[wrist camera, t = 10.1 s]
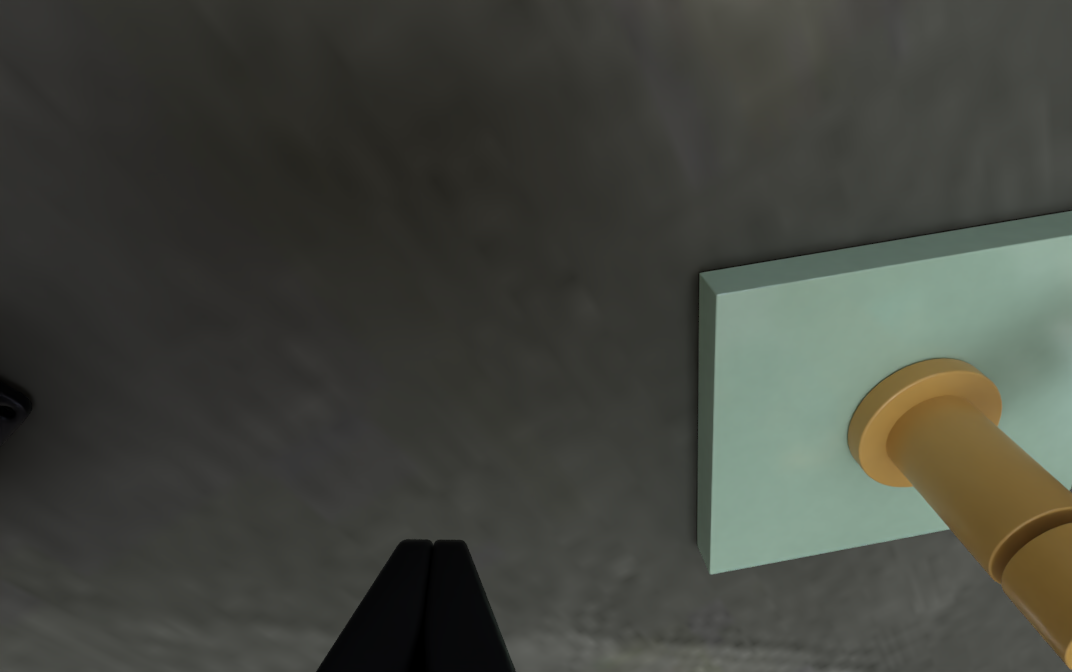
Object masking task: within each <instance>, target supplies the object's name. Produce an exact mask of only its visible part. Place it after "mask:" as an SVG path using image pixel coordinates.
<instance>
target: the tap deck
mask: <svg viewBox="0 0 1072 672" xmlns="http://www.w3.org/2000/svg"><path fill="white" fill-rule="evenodd" d="M940 358H947V359H956V360H961V361H964V362H966V363H969V364H971V365H972V366H974V367H975V368H976V369H978V370H979V371H980V372H981V373H983V374H984V375H985V376H986V377H987V378H989V379H990V380H991V381H992V382H993V383H994V384H995V385H996V387H997V388H998V391H999V393H1000V395H1001V399H1002V414H1001V418H1000V422H999V424H998V428H999V429H1001V430H1002V431H1003V432H1004V433H1005V434H1006V435H1007V436H1008V437H1010V438H1011V439H1012V440H1013V441H1014V442H1015V443H1016V444H1017V445H1019V446H1020V447H1021V448H1022V449H1023V450H1024V451H1025V452H1026V453H1027V454H1029V455H1030V456H1031V457H1032V458H1033V459H1034V460H1035V461H1036V462H1038V463H1039V464H1040V465H1041V466H1042V467H1043V468H1044V469H1045V470H1047V471H1048V472H1049V473H1050V474H1051V475H1052V476H1053V477H1054V478H1055V479H1057V480H1058V481H1059V482H1060V483H1061V484H1062V485H1063V486H1064V487H1066V488H1067V489H1068V490H1069V491H1070V489H1071V487H1072V211H1067V212H1061V213H1055V214H1049V215H1043V216H1037V217H1031V218H1025V219H1019V220H1013V221H1008V222H1002V223H996V224H990V225H984V226H978V227H972V228H966V229H960V230H954V231H948V232H942V233H936V234H930V235H924V236H918V237H912V238H906V239H900V240H894V241H888V242H882V243H876V244H870V245H864V246H858V247H852V248H846V249H840V250H834V251H828V252H822V253H816V254H810V255H804V256H798V257H792V258H786V259H780V260H774V261H768V262H762V263H756V264H750V265H744V266H738V267H732V268H726V269H720V270H714V271H708V272H702V273H700V274H699V384H698V501H697V546H698V548H699V550H700V553H701V555H702V557H703V560H704V562H705V564H706V567H707V569H708V571H709V574H710V575H712V574H717V573H722V572H727V571H733V570H738V569H743V568H749V567H754V566H759V565H764V564H770V563H775V562H780V561H785V560H791V559H796V558H801V557H807V556H812V555H817V554H822V553H828V552H833V551H838V550H843V549H849V548H854V547H859V546H865V545H870V544H875V543H880V542H886V541H891V540H896V539H901V538H907V537H912V536H917V535H923V534H928V533H933V532H938V531H944V530H949V529H950V528H949V527H948V526H947V525H946V524H945V523H944V521H943V520H942V519H941V518H940V517H939V516H938V514H937V513H936V512H935V511H934V510H933V509H932V507H931V506H930V505H929V504H928V503H927V502H926V500H925V499H924V498H923V497H922V496H921V495H920V493H919V492H918V491H917V490H916V489H915V488H914V487H892V486H887V485H883V484H881V483H879V482H876V481H875V480H873V479H872V478H870V477H869V476H868V475H867V474H866V473H865V472H864V471H863V469H862V468H861V467H860V465H859V464H858V463H857V462H856V460H855V459H854V458H853V456H852V454H851V452H850V449H849V445H848V430H849V425H850V422H851V419H852V417H853V415H854V413H855V411H856V409H857V407H858V406H859V404H860V403H861V402H862V400H863V399H864V398H865V397H866V395H867V394H868V393H869V392H870V391H871V390H872V389H873V388H874V387H875V386H877V385H878V384H879V383H880V382H882V381H883V380H884V379H885V378H887V377H889V376H890V375H892V374H893V373H895V372H897V371H899V370H901V369H903V368H905V367H907V366H910V365H912V364H915V363H918V362H921V361H925V360H931V359H940Z"/></svg>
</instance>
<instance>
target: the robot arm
mask: <svg viewBox="0 0 1072 672" xmlns="http://www.w3.org/2000/svg"><path fill="white" fill-rule="evenodd" d="M4 405H6V406H8V407H11V408H12V409H13V410H14V411H11V410H8V409H6V408H5V407H4ZM31 411H32V403H31V402H30V400H29V399H28V398H27V397H26V396H24V395H23V394H22V393H20V392H18V391H16V390H14V389H13V388H11V387H9V386H7V385H5V384H4V383H2V382H0V446H1V445H2V444H3V443H4V442H5V441H6V440H7V439H8V438H9V437H10V436H11V435H12V433H13V432H14V431H15V430H16V429H17V428H18V427H19V426H20V425H21V424H22V423H23V422H24V420H25V419H26V418H27V417H28V415H29V414H30V413H31ZM316 672H516V671H515V668H514V666H513V663H512V661H511V658H510V655H509V653H508V650H507V648H506V645H505V643H504V640H503V637H502V635H501V632H500V630H499V627H498V624H497V622H496V619H495V617H494V614H493V611H492V609H491V606H490V604H489V601H488V599H487V596H486V593H485V591H484V588H483V586H482V583H481V580H480V578H479V575H478V573H477V570H476V567H475V565H474V562H473V560H472V557H471V555H470V552H469V549H468V547H467V545H466V543H465V542H464V541H462V540H437V541H435V543H434V545H433V543H432V542H431V541H430V540H422V539H406V540H403V541H401V542H400V543H399V544H398V546H397V547H396V549H395V550H394V552H393V553H392V555H391V557H390V558H389V560H388V561H387V563H386V564H385V566H384V567H383V569H382V570H381V572H380V574H379V575H378V577H377V578H376V580H375V581H374V583H373V584H372V586H371V588H370V589H369V591H368V592H367V594H366V595H365V597H364V598H363V600H362V601H361V603H360V605H359V606H358V608H357V609H356V611H355V612H354V614H353V615H352V617H351V618H350V620H349V622H348V623H347V625H346V626H345V628H344V629H343V631H342V632H341V634H340V635H339V637H338V639H337V640H336V642H335V643H334V645H333V646H332V648H331V649H330V651H329V653H328V654H327V656H326V657H325V659H324V660H323V662H322V663H321V665H320V666H319V668H318V670H317V671H316Z"/></svg>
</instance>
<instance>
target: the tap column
mask: <svg viewBox="0 0 1072 672" xmlns="http://www.w3.org/2000/svg"><path fill="white" fill-rule="evenodd" d="M1001 414H1002V399H1001V395H1000V393H999V391H998V388H997V387H996V385H995V384H994V383H993V382H992V381H991V380H990V379H989V378H987V377H986V376H985V375H984V374H983V373H981V372H980V371H979V370H978V369H976V368H975V367H974V366H972V365H971V364H969V363H966V362H964V361H961V360H956V359H947V358H940V359H931V360H925V361H921V362H918V363H915V364H912V365H910V366H907V367H905V368H903V369H901V370H899V371H897V372H895V373H893V374H892V375H890V376H889V377H887V378H885V379H884V380H883V381H882V382H880V383H879V384H878V385H877V386H875V387H874V388H873V389H872V390H871V391H870V392H869V393H868V394H867V395H866V397H865V398H864V399H863V400H862V402H861V403H860V404H859V406H858V407H857V409H856V411H855V413H854V415H853V417H852V419H851V422H850V425H849V430H848V445H849V449H850V452H851V454H852V456H853V458H854V459H855V460H856V462H857V463H858V464H859V465H860V467H861V468H862V469H863V471H864V472H865V473H866V474H867V475H868V476H869V477H870V478H872V479H873V480H875V481H876V482H879V483H881V484H883V485H887V486H892V487H914V488H915V489H916V490H917V491H918V492H919V493H920V495H921V496H922V497H923V498H924V499H925V500H926V502H927V503H928V504H929V505H930V506H931V507H932V509H933V510H934V511H935V512H936V513H937V514H938V516H939V517H940V518H941V519H942V520H943V521H944V523H945V524H946V525H947V526H948V527H949V528H950V530H951V531H952V532H953V533H954V534H955V536H956V537H957V538H958V539H959V540H960V541H961V543H962V544H963V545H964V546H965V547H966V548H967V550H968V551H969V552H970V553H971V554H972V555H973V557H974V558H975V559H976V560H977V561H978V562H979V564H980V565H981V566H982V567H983V568H984V569H985V571H986V572H987V573H988V574H989V575H990V577H991V578H992V579H993V580H994V581H996V582H998V583H999V584H1001V578H1002V574H1003V571H1004V569H1005V567H1006V565H1007V564H1008V562H1009V561H1010V559H1011V558H1012V557H1013V556H1014V555H1015V554H1016V553H1017V552H1018V551H1019V550H1020V549H1021V548H1022V547H1023V546H1024V545H1026V544H1027V543H1028V542H1030V541H1031V540H1033V539H1034V538H1036V537H1037V536H1039V535H1041V534H1043V533H1044V532H1046V531H1048V530H1051V529H1053V528H1055V527H1058V526H1061V525H1064V524H1067V523H1072V493H1071V492H1070V491H1069V490H1068V489H1067V488H1066V487H1064V486H1063V485H1062V484H1061V483H1060V482H1059V481H1058V480H1057V479H1055V478H1054V477H1053V476H1052V475H1051V474H1050V473H1049V472H1048V471H1047V470H1045V469H1044V468H1043V467H1042V466H1041V465H1040V464H1039V463H1038V462H1036V461H1035V460H1034V459H1033V458H1032V457H1031V456H1030V455H1029V454H1027V453H1026V452H1025V451H1024V450H1023V449H1022V448H1021V447H1020V446H1019V445H1017V444H1016V443H1015V442H1014V441H1013V440H1012V439H1011V438H1010V437H1008V436H1007V435H1006V434H1005V433H1004V432H1003V431H1002V430H1001V429H999V428H998V424H999V422H1000V418H1001Z"/></svg>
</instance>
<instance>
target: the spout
mask: <svg viewBox="0 0 1072 672" xmlns="http://www.w3.org/2000/svg"><path fill="white" fill-rule="evenodd" d="M1001 585H1002V588H1003V591H1004V593H1005V594H1006V595H1007V596H1008V598H1009V599H1010V600H1011V601H1012V602H1013V603H1014V605H1015V606H1016V607H1017V608H1018V609H1019V610H1020V612H1021V613H1022V614H1023V615H1024V616H1025V617H1026V619H1027V620H1028V621H1029V622H1030V623H1031V625H1032V626H1033V627H1034V628H1035V629H1036V630H1037V632H1038V633H1039V634H1040V635H1041V636H1042V637H1043V639H1044V640H1045V641H1046V642H1047V643H1048V644H1049V646H1050V647H1051V648H1052V649H1053V650H1054V651H1055V653H1056V654H1057V655H1058V656H1059V657H1060V658H1061V660H1062V661H1063V662H1064V663H1065V664H1066V666H1067V667H1068V668H1070V669H1071V670H1072V523H1067V524H1064V525H1061V526H1058V527H1055V528H1053V529H1051V530H1048V531H1046V532H1044V533H1043V534H1041V535H1039V536H1037V537H1036V538H1034V539H1033V540H1031V541H1030V542H1028V543H1027V544H1026V545H1024V546H1023V547H1022V548H1021V549H1020V550H1019V551H1018V552H1017V553H1016V554H1015V555H1014V556H1013V557H1012V558H1011V559H1010V561H1009V562H1008V564H1007V565H1006V567H1005V569H1004V571H1003V574H1002V578H1001Z"/></svg>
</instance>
